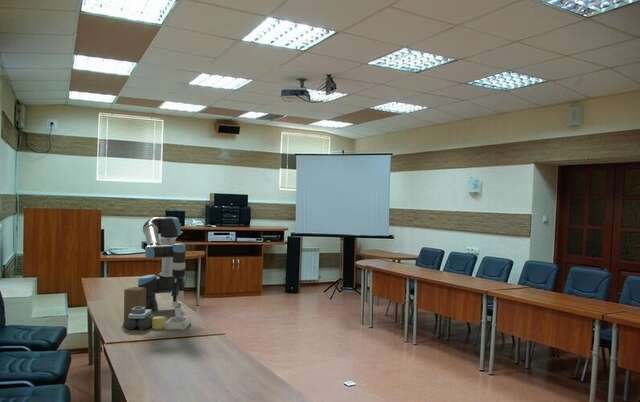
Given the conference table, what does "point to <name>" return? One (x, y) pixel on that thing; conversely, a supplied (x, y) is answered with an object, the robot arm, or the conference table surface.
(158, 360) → the conference table surface
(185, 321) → the tray
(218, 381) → the conference table surface
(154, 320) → the yellow cube
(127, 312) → the block
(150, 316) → the grey plate on cylinders
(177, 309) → the pin
